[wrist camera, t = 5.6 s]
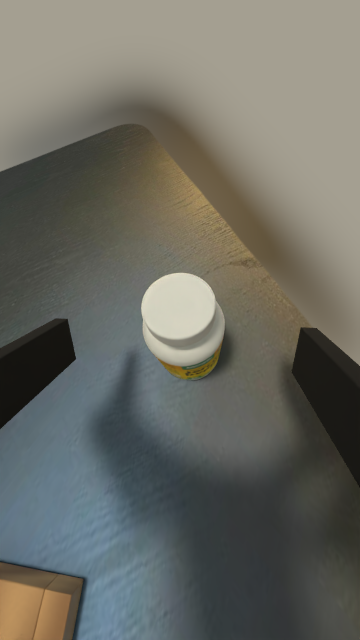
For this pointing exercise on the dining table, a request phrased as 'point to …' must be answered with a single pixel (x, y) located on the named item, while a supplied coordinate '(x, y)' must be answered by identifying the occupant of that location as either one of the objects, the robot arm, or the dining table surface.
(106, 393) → the dining table surface
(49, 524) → the dining table surface
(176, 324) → the supplement bottle
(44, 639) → the socket pad
